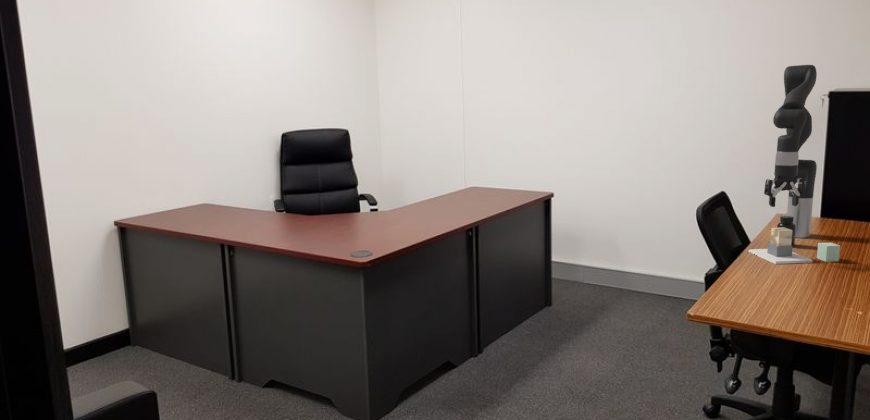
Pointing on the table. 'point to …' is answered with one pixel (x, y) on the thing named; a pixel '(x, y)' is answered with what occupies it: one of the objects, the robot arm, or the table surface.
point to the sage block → (828, 252)
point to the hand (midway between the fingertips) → (783, 206)
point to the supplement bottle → (788, 226)
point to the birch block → (781, 236)
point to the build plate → (781, 259)
